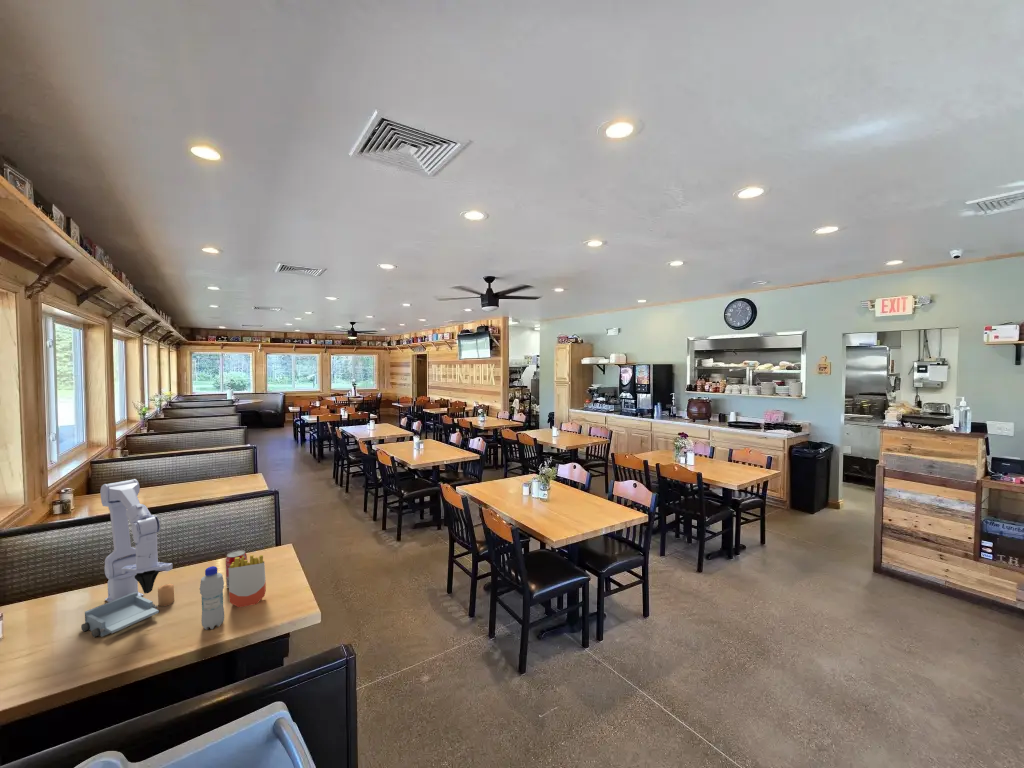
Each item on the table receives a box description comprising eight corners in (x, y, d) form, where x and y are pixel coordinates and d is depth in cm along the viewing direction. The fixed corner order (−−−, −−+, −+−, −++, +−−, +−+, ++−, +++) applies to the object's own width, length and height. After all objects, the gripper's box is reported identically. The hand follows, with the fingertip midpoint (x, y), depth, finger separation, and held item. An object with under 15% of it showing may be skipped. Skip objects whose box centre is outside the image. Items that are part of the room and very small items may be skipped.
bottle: (199, 634, 141) (197, 573, 140) (202, 623, 147) (200, 565, 146) (224, 628, 144) (222, 569, 143) (226, 617, 150) (224, 560, 149)
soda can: (237, 591, 167) (236, 558, 167) (221, 589, 169) (220, 556, 168) (252, 582, 174) (251, 550, 174) (236, 580, 176) (235, 548, 175)
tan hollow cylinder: (155, 604, 158) (154, 586, 158) (170, 598, 162) (169, 580, 162) (162, 607, 156) (162, 589, 156) (177, 601, 160) (176, 583, 160)
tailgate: (105, 627, 139) (111, 631, 137) (152, 607, 151) (158, 610, 149) (105, 630, 139) (111, 634, 138) (152, 610, 151) (158, 613, 149)
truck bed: (80, 629, 143) (79, 613, 142) (140, 604, 158) (140, 589, 157) (99, 640, 137) (98, 623, 137) (159, 613, 152) (159, 597, 152)
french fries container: (232, 602, 159) (230, 554, 158) (266, 596, 163) (264, 549, 163) (229, 609, 155) (228, 559, 154) (264, 602, 159) (263, 554, 158)
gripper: (114, 559, 143) (115, 599, 144) (162, 557, 145) (164, 596, 146) (129, 550, 150) (130, 588, 151) (175, 548, 152) (177, 585, 153)
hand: (148, 591), depth 149 cm, fingers closed
